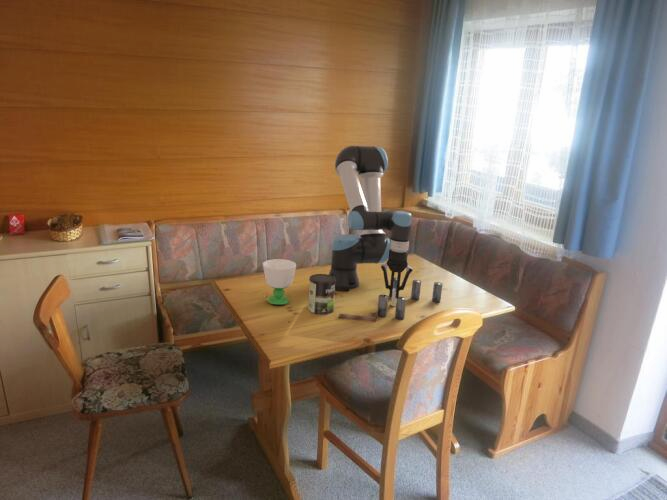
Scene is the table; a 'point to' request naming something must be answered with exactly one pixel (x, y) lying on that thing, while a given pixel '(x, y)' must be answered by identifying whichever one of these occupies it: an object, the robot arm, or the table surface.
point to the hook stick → (359, 317)
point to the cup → (279, 278)
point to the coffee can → (321, 294)
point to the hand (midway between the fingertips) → (392, 304)
